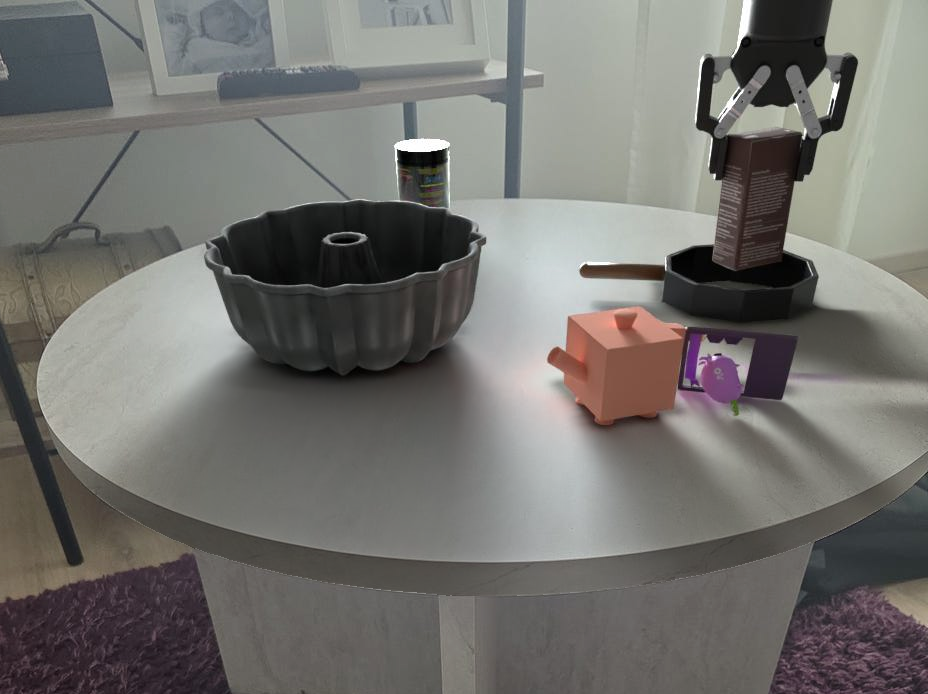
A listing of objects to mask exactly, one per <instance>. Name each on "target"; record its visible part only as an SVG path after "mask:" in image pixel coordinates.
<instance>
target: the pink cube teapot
mask: <svg viewBox="0 0 928 694" xmlns="http://www.w3.org/2000/svg"><path fill="white" fill-rule="evenodd" d="M566 322H567V323H566V339H565V350H564V349H563V348H561V347H560V346H555V347H553V348H552V349H551V350H550V352H549V353H548V355H547V357H546V360H547V364H549V365H550V366H552V367H554V368H556V369H557V370H559V371H561V372H563V384H564V386H565V387H566V388H567V389H568V390H569V391H570V392H571V393H572V394H573V395H574V396H575V397H576V398H575V403H576V404H578V405H581V406H585V407H586V408H587V409H588V410H589V411H590V412H591V413H592V414H593V415H594V417H595V418H594V422H595V423H596V424H597V425H602V426H609V425H612V424H614V423H615V420H616V419H622V418H628V417H634V416H640V417H643V418H647V419H648V418H649V419H650V418H655V417H657V416H658V412H664V411H670V410H674V408H675V401H676V395H677V390H678V388H677V387H678V379H679V372H680V364H681V357H682V351H683V345H684V339H685V334H686V327H685V326H684V325H682V324H681V323H679V322H662V321H661V320H659V319H658V318H657V317H656V316H655V315H653V314H652V313H650V312H649V311H647V310H646V309H644V308H643V307H642V306H640V305H637V306H631V307H623V308H616V309H615V308H614V309H608V310H599V311H594V312H586V313H580V314H571V315H568V316H567V320H566Z"/></svg>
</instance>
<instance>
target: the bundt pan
mask: <svg viewBox="0 0 928 694" xmlns="http://www.w3.org/2000/svg"><path fill="white" fill-rule="evenodd" d="M479 229H480V227H479V223H477V222H476V220H474V219H472V218H470V217H467V216H465V215H460V214H455V213H453V212H452V211H451V208H450V209H448V208H435V207H428V206H425V205H423V204H419V203H414V202H408V201H398V200H377V201H376V200H375V201H374V200H369V199H363V198H356V199H353V200H352V199H351V200H346V201H318V202H317V201H315V202H308V203H303V204H298V205H293V206H290V207H287V208H284V209H274V210H272V209H271V210H265V211H263V212H261V213H259V214H258V215H257V216H254V217H248V218H245V219H241V220H238V221H237V220H236V221H235V222H232V223H230V224H228V225H226V226H224V227H223V228H222V229H221V230H220V232H219V234H218V235H217V236H215V237H212V238H209V239H207V240H205V242H204V243H205V247H206V251H205V252H204V255H203V259H204V263H205V267H207V268H208V269H209V270H210V271H212V273H213V276H214V279H215V281H216V284H217V287H218V290H219V293H220V297H221V299H222V301H223V305H224V307H225V310H226V313H227V315H228V319H229V321H230V323H231V326H232V327H233V329H234V331H235V333H236V334H237V335H238V336H239V337H240V338H241V339H242V340H243V341H244V342H245V343H246V344H248V345H249V346H251V348H252V349H253V350H254V352H255V353H256V354H257V355H258V356H259V357H260V358H262V359H263V360H265V361H267V362H268V363H272V364H276V365H289V366H291V367H292V368H293V369H294V368H295V369H297V370H299V371H305V372H316V371H321V370H325V369H326V368H329V369H331V370H332V371H334V372H335V373H337V374H338V375H340V376H346V375H348V374H349V373H350V372H351V371H352V370H354V369H355V368H357V367H360V368H362V369H364V370H367V371H368V370H369V371H383V370H387V369H390V368H391V367H394V366H395V365H397V364H398V363H399V362H400V361H401V362H405V363H407V364H415V363H418V362H421V361H423V360H424V359H425V358H426V357H428V355H429V354H430V352H431V351H433V350H436V349H439V348H441V347H443V346H445V345H446V344H447V343H449V342H450V341H451V340H452V339H453V338H455V336H456V334H457V333H458V332H459V330H460V329H461V326H462V325H463V324H464V322H465V321H466V320H467V318H468V316H469V314H470V313H471V310H472V308H473V305H474V301H475V295H476V289H477V288H476V287H477V282H478V274H479V268H480V261H481V252H482V247H483V246H485V245H486V244H487V235H485V234H482V233H480V232H479Z"/></svg>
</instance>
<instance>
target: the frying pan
mask: <svg viewBox="0 0 928 694" xmlns="http://www.w3.org/2000/svg"><path fill="white" fill-rule="evenodd" d="M713 250H714V243H712V244H697V245H691V246H688V247H685V248H683V249H680V250H678V251H675V252H673V253H670V254H667V255H666V256H664V257H665V258H664V263H663V264H656V263H655V264H653V263H652V264H651V263H624V262H623V263H622V262H592V261H586V262H583V263H582V264H581V265H580V267H579V269H578V272H579V275H580V277H582V278H583V279H595V280H596V279H599V280H622V281H623V280H624V281H625V280H626V281H647V282H648V281H649V282H650V281H651V282H661V288H660V303H662V304H663V303H664V304H668V305H669V306H671V307H673V308H675V309H678V310H679V311H682V312H683V313H685V314H687V315H689V316H692V317H699V318H705V319H711V320H718V321H725V322H730V323H738V324H744V323H745V324H747V323H757V322H758V323H759V322H760V323H761V322H771V321H785V320H789V319H791V318H794V317H795V316H796V315H798V314H800V313H803V312H804V311H806V310H808V309H812V307H813V304H814V299H815V294H816V290H817V286H818V282H819V278H820V277H819V273H818V271H817V269H816V266H815V263H814V261H813V260H812V259H808V258H806V257H803V256H801V255H798V254H795V253H793V252H790V251H788V250H785V249H783V254H782V261H781V262H775V263H770V264H765V265H760V266H755V267H750V268H746V269H741V270H737V271H734V270H731V269H728V268H726V267H724V266H722V265H720V264H718V263H715V262H714V261H713V260H712V258H713ZM723 282H724V283H725V282H731V283H732V282H733V283H739V284H747V285H753V286H754V285H755V286H761V287H768V288H755V289H741V288H733V287H726V286H719V285H712V283H723ZM708 283H709V284H708ZM710 283H711V284H710Z"/></svg>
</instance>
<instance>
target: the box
mask: <svg viewBox="0 0 928 694" xmlns="http://www.w3.org/2000/svg"><path fill="white" fill-rule="evenodd" d="M726 135H727V138H728V142H727V148H726V155H725V162H724V169H723V176H722V180H721V184H720V192H719V201H718V208H717V217H716V225H715V234H714V242H713V244H714V250H713V258H712V260H713V261H714V262H715V263H718V264H720V265H722V266H724V267H726V268H728V269H731V270H734V271H737V270H741V269H746V268H750V267H755V266H760V265H765V264H770V263H775V262H781V261H782V254H783V250H784V247H785V241H786V234H787V230H788V225H789V217H790V212H791V205H792V201H793V200H792V199H793V194H794V187H795V175H796V169H797V164H798V158H799V152H800V146H801V140H802V135H804V133H803V132H801V131H797V130H793V129H789V128H783V127H779V126H773V127H767V128H761V129H755V130H749V131H741V132H735V133H727V134H726Z"/></svg>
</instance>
